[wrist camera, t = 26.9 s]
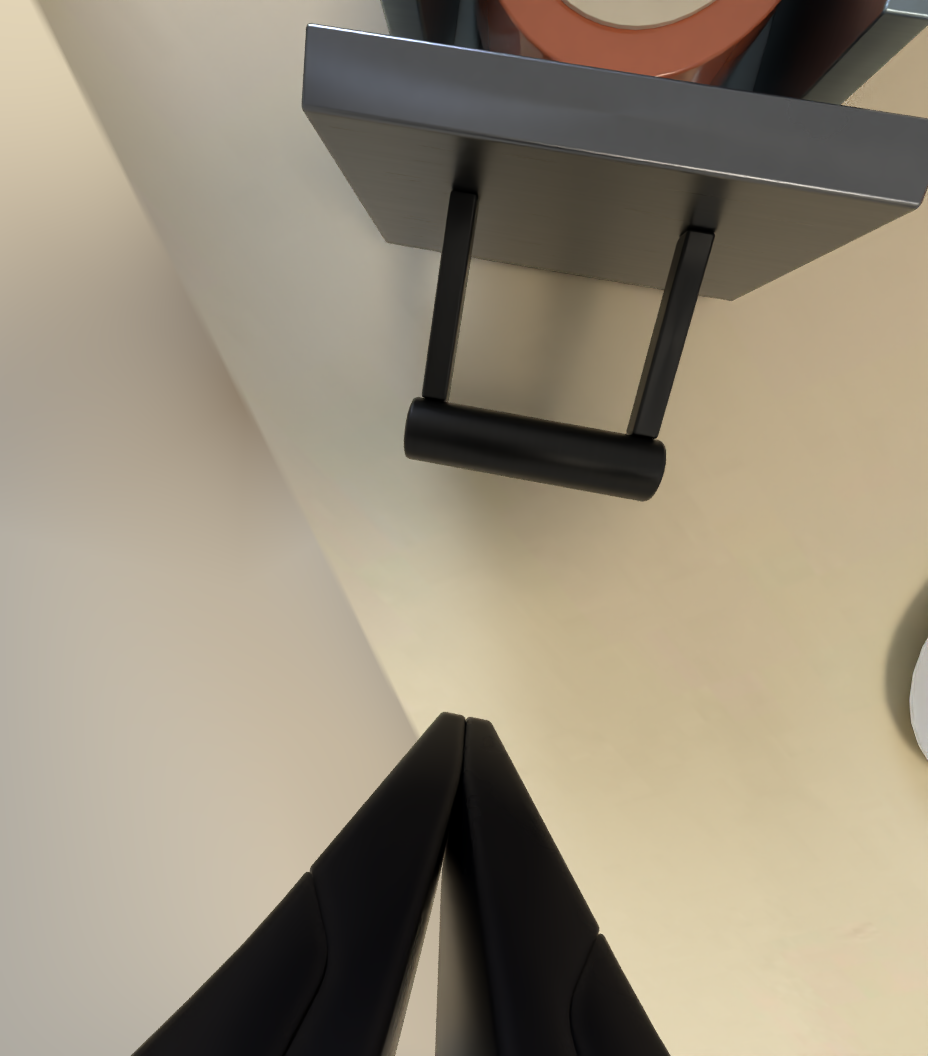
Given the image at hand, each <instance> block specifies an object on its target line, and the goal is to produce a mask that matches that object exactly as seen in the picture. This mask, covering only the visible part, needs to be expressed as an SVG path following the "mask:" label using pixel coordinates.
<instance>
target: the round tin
mask: <svg viewBox="0 0 928 1056" xmlns="http://www.w3.org/2000/svg"><path fill="white" fill-rule="evenodd" d="M782 1H783V0H474V5H475V14H476V21H477V25H478V30H479V34H480V38H481V42H482V45H483V48H484V50H487V51H494V52H500V53H507V54H513V55H520V56H526V57H533V58H539V59H546V60H552V61H558V62H565V63H571V64H578V65H584V66H591V67H597V68H604V69H610V70H617V71H623V72H630V73H636V74H643V75H649V76H656V77H662V78H669V79H675V80H682V81H688V82H695V83H701V84H708V85H714V86H721V87H722V86H723V85H724V84H725V83H726V82H727V81H728V79H729V78H730V76H731V75H732V74H733V72H734V71H735V70H736V68H737V67H738V65H739V64H740V63H741V61H742V60H743V58H744V57H745V55H746V54H747V52H748V51H749V50H750V48H751V47H752V45H753V44H754V42H755V41H756V39H757V38H758V36H759V35H760V34H761V32H762V31H763V29H764V28H765V26H766V25H767V23H768V22H769V20H770V19H771V17H772V16H773V15H774V13H775V12H776V10H777V9H778V7H779V6H780V4H781V3H782Z"/></svg>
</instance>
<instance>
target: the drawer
mask: <svg viewBox="0 0 928 1056" xmlns="http://www.w3.org/2000/svg"><path fill="white" fill-rule="evenodd" d="M380 1H381V4H382V8H383V12H384V15H385V19H386V22H387V26H388V29H389V33H390V35H383V34H377V33H371V32H364V31H358V30H351V29H345V28H338V27H332V26H325V25H319V24H312V23H309V24H307V27H306V40H305V57H304V74H303V91H302V109H303V111H304V113H305V114H306V116H307V118H308V119H309V121H310V122H311V124H312V125H313V127H314V129H315V130H316V132H317V133H318V135H319V137H320V138H321V140H322V141H323V143H324V144H325V146H326V148H327V149H328V151H329V152H330V154H331V156H332V157H333V159H334V160H335V162H336V163H337V165H338V167H339V168H340V170H341V171H342V173H343V175H344V176H345V178H346V179H347V181H348V182H349V184H350V186H351V187H352V189H353V190H354V192H355V194H356V195H357V197H358V198H359V200H360V201H361V203H362V205H363V206H364V208H365V209H366V211H367V213H368V214H369V216H370V217H371V219H372V220H373V222H374V224H375V225H376V227H377V228H378V230H379V232H380V233H381V235H382V236H383V238H384V239H385V241H386V242H387V243H391V244H397V245H403V246H408V247H414V248H420V249H426V250H432V251H438V252H442V254H441V261H440V268H439V275H438V282H437V289H436V297H435V304H434V311H433V318H432V325H431V332H430V339H429V346H428V354H427V361H426V368H425V375H424V382H423V389H422V397H424V398H421V397H416V398H414V399H413V401H412V403H411V405H410V408H409V411H408V415H407V420H406V425H405V433H404V451H405V455H406V457H407V458H409V459H413V460H419V461H424V462H430V463H435V464H441V465H446V466H452V467H457V468H463V469H468V470H473V471H479V472H484V473H490V474H495V475H501V476H506V477H512V478H517V479H523V480H528V481H533V482H539V483H544V484H550V485H555V486H561V487H566V488H572V489H577V490H583V491H588V492H593V493H599V494H604V495H610V496H615V497H621V498H626V499H632V500H637V501H647V500H649V499H650V498H652V496H653V495H654V494H655V492H656V491H657V489H658V487H659V485H660V482H661V480H662V477H663V474H664V469H665V464H666V449H665V445H664V444H663V443H662V442H661V441H660V440H656V438H657V437H658V434H659V431H660V427H661V424H662V420H663V417H664V413H665V410H666V406H667V403H668V399H669V396H670V392H671V389H672V385H673V382H674V378H675V375H676V371H677V368H678V364H679V361H680V357H681V354H682V350H683V347H684V343H685V340H686V336H687V333H688V329H689V326H690V322H691V319H692V315H693V312H694V308H695V305H696V301H697V298H698V295H699V296H705V297H711V298H717V299H723V300H729V301H732V300H735V299H737V298H739V297H741V296H743V295H745V294H747V293H749V292H751V291H753V290H755V289H757V288H759V287H761V286H763V285H765V284H767V283H769V282H771V281H773V280H775V279H777V278H779V277H781V276H783V275H785V274H787V273H789V272H791V271H793V270H795V269H797V268H799V267H801V266H803V265H805V264H807V263H809V262H811V261H813V260H815V259H817V258H819V257H821V256H823V255H825V254H827V253H829V252H831V251H833V250H835V249H837V248H839V247H841V246H843V245H845V244H847V243H849V242H851V241H853V240H855V239H857V238H859V237H861V236H863V235H865V234H867V233H869V232H871V231H873V230H875V229H877V228H879V227H881V226H883V225H885V224H887V223H889V222H891V221H893V220H895V219H897V218H899V217H901V216H903V215H905V214H907V213H909V212H911V211H913V210H915V209H917V208H918V207H919V206H920V205H921V203H922V201H923V199H924V196H925V193H926V191H927V188H928V118H921V117H915V116H908V115H902V114H895V113H889V112H883V111H876V110H870V109H863V108H857V107H850V106H844V105H841V104H842V103H843V102H844V101H845V100H846V99H847V98H849V97H850V96H851V95H852V94H853V93H854V92H855V91H856V90H857V89H858V88H859V87H861V86H862V85H863V84H864V83H865V82H866V81H867V80H868V79H869V78H870V77H872V76H873V75H874V74H875V73H876V72H877V71H878V70H879V69H880V68H881V67H883V66H884V65H885V64H886V63H887V62H888V61H889V60H890V59H891V58H892V57H893V56H895V55H896V54H897V53H898V52H899V51H900V50H901V49H902V48H903V47H904V46H906V45H907V44H908V43H909V42H910V41H911V40H912V39H913V38H914V37H915V36H917V35H918V34H919V33H920V32H921V31H922V30H923V29H924V28H925V27H926V26H927V25H928V0H783V1H782V3H781V4H780V6H779V7H778V9H777V10H776V12H775V13H774V15H773V16H772V17H771V19H770V20H769V22H768V23H767V25H766V26H765V28H764V29H763V31H762V32H761V34H760V35H759V36H758V38H757V39H756V41H755V42H754V44H753V45H752V47H751V48H750V50H749V51H748V52H747V54H746V55H745V57H744V58H743V60H742V61H741V63H740V64H739V65H738V67H737V68H736V70H735V71H734V72H733V74H732V75H731V76H730V78H729V79H728V81H727V82H726V83H725V84H724V85H723V86H722V87H721V86H714V85H708V84H701V83H695V82H688V81H682V80H675V79H669V78H662V77H656V76H649V75H643V74H636V73H630V72H623V71H617V70H610V69H604V68H597V67H591V66H584V65H578V64H571V63H565V62H558V61H552V60H546V59H539V58H533V57H526V56H520V55H513V54H507V53H500V52H494V51H487V50H484V48H483V45H482V42H481V38H480V34H479V30H478V25H477V21H476V14H475V5H474V0H380ZM471 257H474V258H480V259H486V260H491V261H497V262H503V263H509V264H515V265H521V266H527V267H533V268H539V269H545V270H551V271H557V272H563V273H569V274H574V275H580V276H586V277H592V278H598V279H604V280H610V281H616V282H622V283H628V284H634V285H640V286H646V287H652V288H657V289H663V290H664V293H663V296H662V300H661V304H660V308H659V311H658V315H657V319H656V323H655V326H654V330H653V334H652V338H651V341H650V345H649V349H648V353H647V356H646V360H645V364H644V368H643V371H642V375H641V379H640V383H639V386H638V390H637V394H636V398H635V401H634V405H633V409H632V413H631V416H630V420H629V424H628V428H627V434H622V433H617V432H611V431H606V430H600V429H594V428H589V427H583V426H578V425H572V424H566V423H561V422H555V421H550V420H544V419H538V418H533V417H527V416H522V415H516V414H511V413H505V412H499V411H494V410H488V409H483V408H477V407H471V406H466V405H460V404H455V403H449V402H448V400H449V395H450V389H451V382H452V376H453V370H454V363H455V357H456V351H457V344H458V338H459V331H460V325H461V319H462V312H463V306H464V300H465V293H466V287H467V280H468V274H469V268H470V261H471Z"/></svg>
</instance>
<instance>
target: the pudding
mask: <svg viewBox="0 0 928 1056" xmlns="http://www.w3.org/2000/svg"><path fill="white" fill-rule="evenodd" d="M909 702H910V714H911V724H912V727H913V730H914V733H915V736H916V739H917V742H918V746H919V747H920V749H921V750H922V752H923V754H924V755H925V757H926V758H927V760H928V638H927V640H926V642H925V643H924V645H923V647H922V650H921V652H920V655H919V658H918V661H917V664H916V666H915V669H914V672H913V677H912V684H911V691H910V698H909Z"/></svg>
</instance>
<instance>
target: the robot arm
mask: <svg viewBox="0 0 928 1056" xmlns="http://www.w3.org/2000/svg"><path fill="white" fill-rule="evenodd" d="M443 858H444V859H443ZM442 862H443V868H442V882H441V905H440V933H439V961H438V990H437V1018H436V1046H435V1056H670V1054H669V1052H668V1051H667V1049H666V1047H665V1046H664V1044H663V1042H662V1041H661V1039H660V1037H659V1036H658V1034H657V1032H656V1030H655V1029H654V1027H653V1025H652V1023H651V1021H650V1020H649V1018H648V1016H647V1014H646V1012H645V1011H644V1009H643V1007H642V1005H641V1003H640V1002H639V1000H638V998H637V996H636V994H635V993H634V991H633V989H632V987H631V985H630V984H629V982H628V980H627V978H626V976H625V975H624V973H623V971H622V969H621V967H620V965H619V963H618V961H617V960H616V958H615V956H614V954H613V952H612V950H611V948H610V946H609V944H608V942H607V940H606V938H605V937H604V935H603V934H598V933H599V926H598V924H597V922H596V920H595V918H594V916H593V914H592V913H591V911H590V909H589V907H588V905H587V903H586V901H585V899H584V897H583V895H582V894H581V892H580V890H579V888H578V886H577V884H576V882H575V880H574V878H573V877H572V875H571V873H570V871H569V869H568V867H567V865H566V863H565V861H564V859H563V858H562V856H561V854H560V852H559V850H558V848H557V846H556V844H555V842H554V841H553V839H552V837H551V835H550V833H549V831H548V829H547V827H546V825H545V823H544V822H543V820H542V818H541V816H540V814H539V812H538V810H537V808H536V806H535V805H534V803H533V801H532V799H531V797H530V795H529V793H528V791H527V789H526V787H525V786H524V784H523V782H522V780H521V778H520V776H519V774H518V772H517V770H516V769H515V767H514V765H513V763H512V761H511V759H510V757H509V755H508V753H507V751H506V750H505V748H504V746H503V744H502V742H501V740H500V738H499V736H498V734H497V733H496V731H495V729H494V727H493V725H492V723H491V722H490V721H488V720H483V719H478V718H473V717H468V718H467V719H466V720H465V717H464V716H462V715H458V714H453V713H448V712H442V713H441V714H440V715H439V716H438V717H437V718H436V719H435V721H434V722H433V723H432V724H431V725H430V727H429V728H428V729H427V730H426V731H425V732H424V734H423V735H422V736H421V737H420V738H419V740H418V741H417V742H416V743H415V744H414V746H413V747H412V748H411V749H410V750H409V751H408V753H407V754H406V755H405V756H404V757H403V758H402V760H401V761H400V762H399V763H398V765H397V766H396V767H395V768H394V769H393V770H392V771H391V773H390V774H389V775H388V776H387V777H386V779H385V780H384V781H383V782H382V783H381V785H380V786H379V787H378V788H377V789H376V790H375V792H374V793H373V794H372V795H371V796H370V797H369V799H368V800H367V801H366V802H365V804H363V806H362V807H361V808H360V809H359V810H358V812H357V813H356V814H355V815H354V816H353V817H352V819H351V820H350V821H349V822H348V823H347V825H346V826H345V827H344V828H343V830H341V832H340V833H339V834H338V835H337V836H336V838H335V839H334V840H333V841H332V842H331V843H330V845H329V846H328V847H327V848H326V849H325V851H324V852H323V853H322V854H321V855H320V857H319V858H318V859H317V860H316V861H315V862H314V864H313V865H312V866H311V868H310V872H306V873H305V874H304V875H303V876H302V877H301V879H300V880H299V881H298V882H297V883H296V884H295V886H294V887H293V888H292V889H291V890H290V891H289V893H288V894H287V895H286V896H285V897H284V899H283V900H282V901H281V902H280V903H279V904H278V905H277V906H276V908H275V909H274V910H273V911H272V912H271V913H270V914H269V915H268V917H267V918H266V919H265V920H264V921H263V922H262V923H261V924H260V925H259V927H258V928H257V929H256V930H255V931H254V932H253V933H252V934H251V936H250V937H249V938H248V939H247V940H246V941H245V942H244V943H243V944H242V945H241V947H240V948H239V949H238V950H237V951H236V952H235V953H234V954H233V955H232V956H231V957H230V958H229V959H228V960H227V961H226V962H225V963H224V964H223V965H222V966H221V967H220V968H219V969H218V970H217V971H216V972H215V973H214V974H213V975H212V976H211V977H210V978H209V979H208V980H207V981H206V982H205V983H204V984H203V985H202V986H201V987H200V988H199V989H198V990H197V991H196V992H195V993H194V994H193V995H192V996H191V998H189V1000H187V1001H186V1002H185V1003H184V1004H183V1006H181V1007H180V1008H179V1009H178V1010H177V1011H176V1012H175V1013H174V1014H173V1015H172V1016H171V1017H170V1018H169V1019H168V1020H167V1021H166V1022H165V1023H164V1024H163V1025H162V1026H161V1027H160V1028H159V1029H158V1030H157V1031H156V1032H155V1033H154V1034H153V1035H152V1036H151V1037H150V1038H148V1039H147V1040H146V1041H145V1042H144V1043H143V1044H142V1045H141V1046H140V1047H139V1048H138V1049H137V1050H136V1051H135V1052H134V1053H133V1054H132V1055H131V1056H395V1054H396V1050H397V1046H398V1042H399V1038H400V1034H401V1030H402V1026H403V1022H404V1018H405V1014H406V1010H407V1006H408V1002H409V998H410V994H411V990H412V986H413V982H414V977H415V974H416V969H417V966H418V961H419V957H420V954H421V950H422V945H423V942H424V938H425V934H426V929H427V925H428V922H429V917H430V914H431V909H432V905H433V902H434V898H435V893H436V890H437V885H438V880H439V876H440V871H441V867H442Z"/></svg>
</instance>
